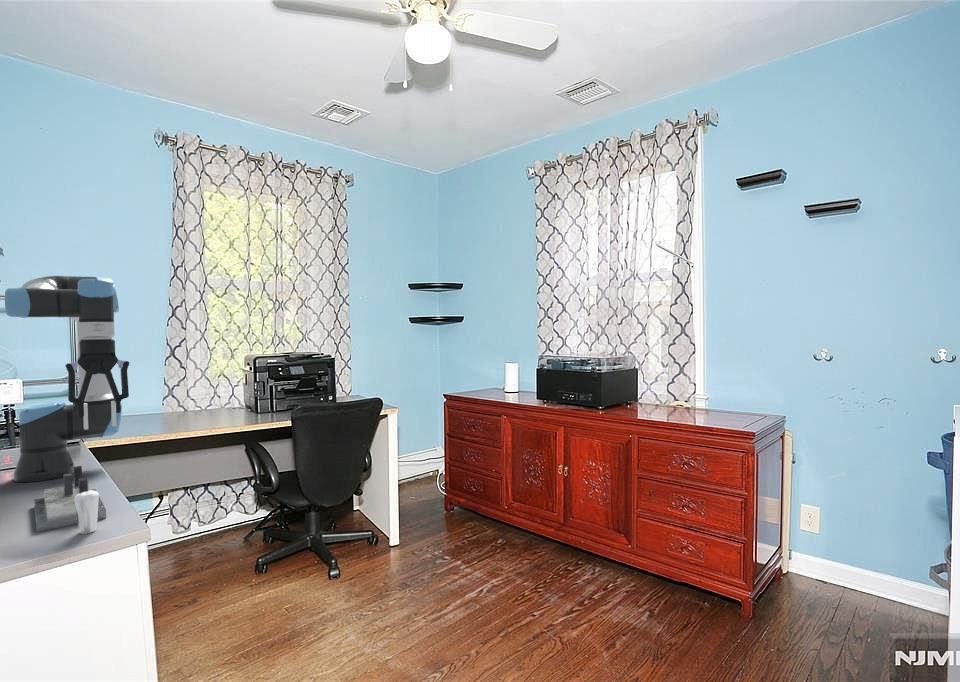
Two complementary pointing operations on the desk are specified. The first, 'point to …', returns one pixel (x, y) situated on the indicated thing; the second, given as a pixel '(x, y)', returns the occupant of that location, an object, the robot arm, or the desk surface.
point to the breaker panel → (61, 520)
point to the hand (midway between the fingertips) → (100, 427)
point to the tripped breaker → (68, 484)
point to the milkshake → (86, 511)
